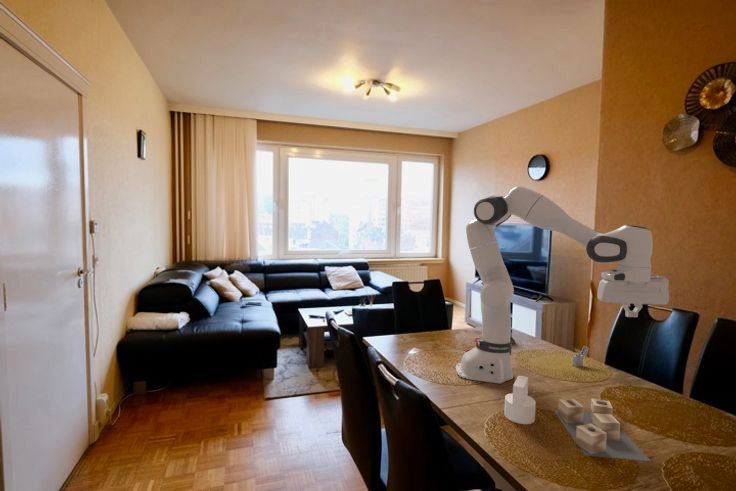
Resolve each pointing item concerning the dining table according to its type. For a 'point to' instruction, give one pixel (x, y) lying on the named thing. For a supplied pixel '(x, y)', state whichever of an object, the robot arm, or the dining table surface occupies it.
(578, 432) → the marked block
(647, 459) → the mat
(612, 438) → the plain block
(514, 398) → the cylinder with rectangular tab
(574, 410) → the marked block
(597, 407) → the marked block
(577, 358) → the lighter
